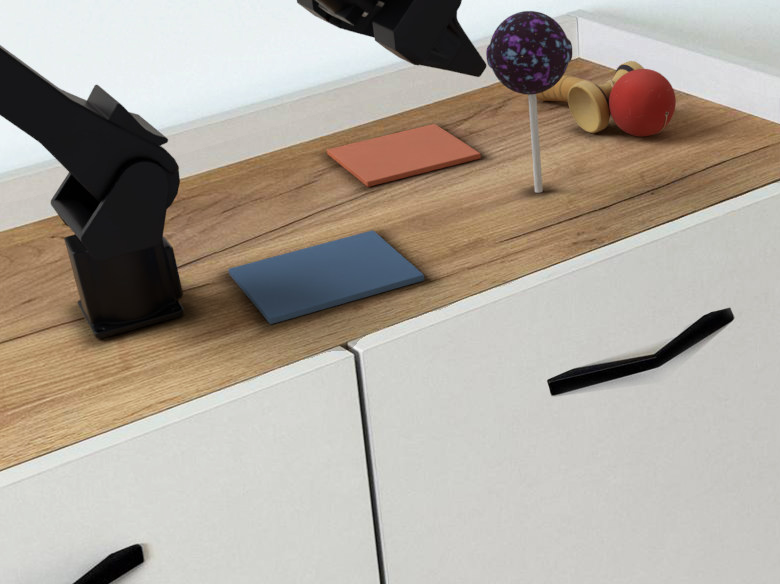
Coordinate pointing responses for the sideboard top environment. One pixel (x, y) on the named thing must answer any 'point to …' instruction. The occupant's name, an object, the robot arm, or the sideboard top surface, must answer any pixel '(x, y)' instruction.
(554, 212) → the sideboard top surface
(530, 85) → the lollipop
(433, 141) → the terracotta pad
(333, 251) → the slate pad
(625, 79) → the kendama
